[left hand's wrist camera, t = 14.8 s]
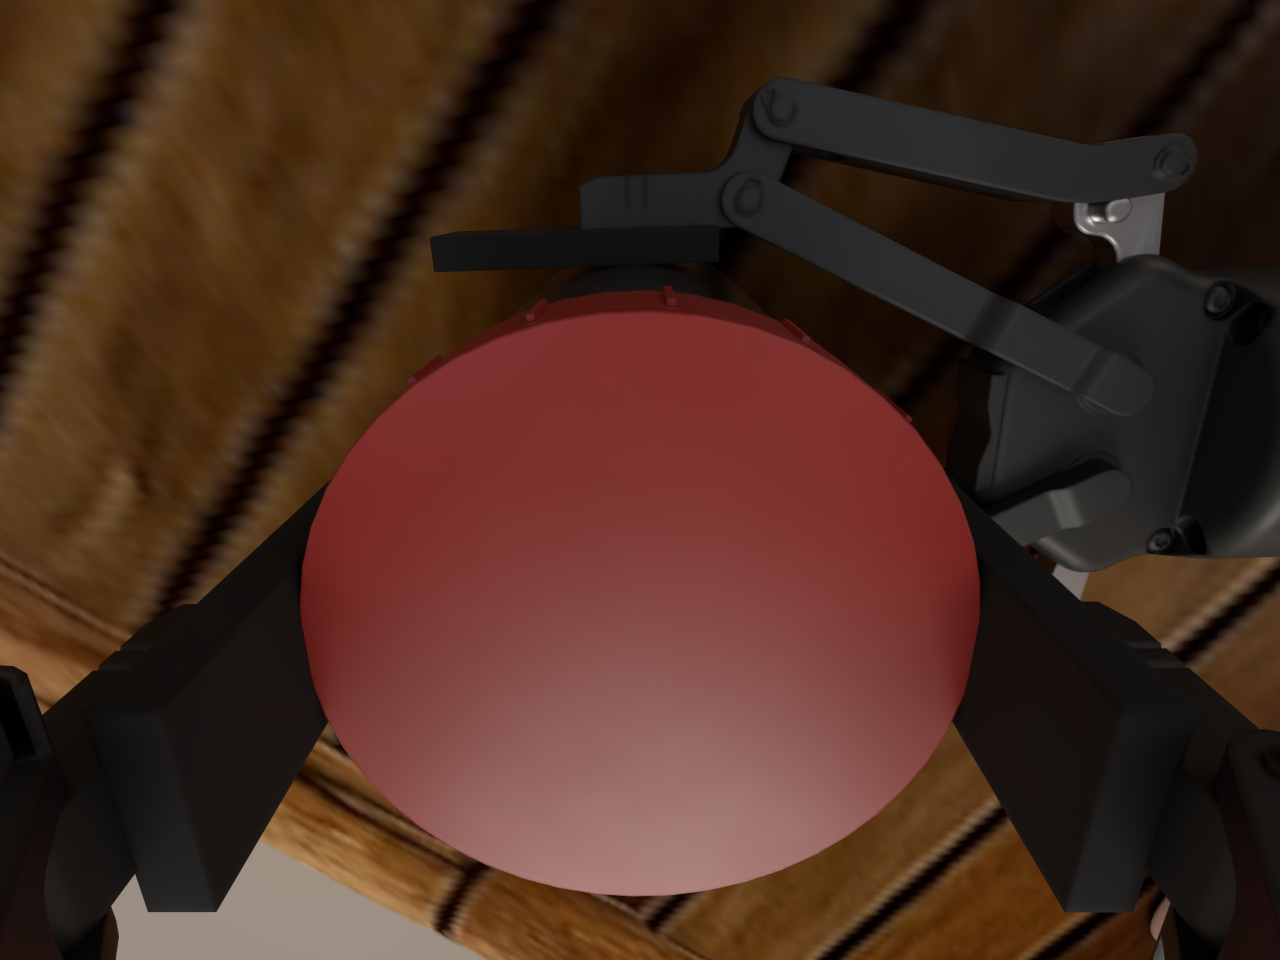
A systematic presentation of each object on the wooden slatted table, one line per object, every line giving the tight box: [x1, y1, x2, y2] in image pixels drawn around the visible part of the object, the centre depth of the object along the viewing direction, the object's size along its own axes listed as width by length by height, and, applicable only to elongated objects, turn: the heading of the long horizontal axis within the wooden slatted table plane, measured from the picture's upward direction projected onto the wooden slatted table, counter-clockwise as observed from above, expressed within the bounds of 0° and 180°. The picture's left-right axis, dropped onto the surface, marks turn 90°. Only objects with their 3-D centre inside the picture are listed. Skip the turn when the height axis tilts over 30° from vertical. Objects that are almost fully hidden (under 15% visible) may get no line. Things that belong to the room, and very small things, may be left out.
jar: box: [510, 262, 769, 318], centre depth 18 cm, size 9×9×16 cm
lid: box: [299, 286, 981, 896], centre depth 11 cm, size 10×10×2 cm
